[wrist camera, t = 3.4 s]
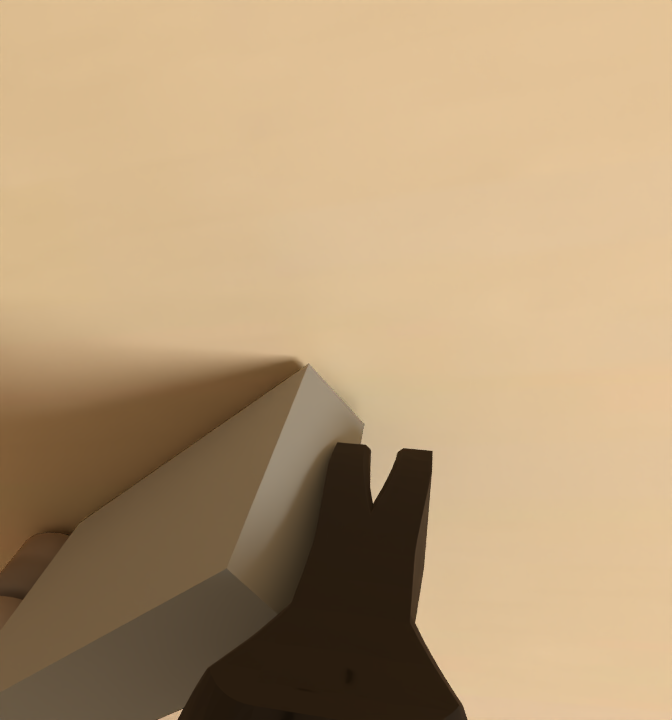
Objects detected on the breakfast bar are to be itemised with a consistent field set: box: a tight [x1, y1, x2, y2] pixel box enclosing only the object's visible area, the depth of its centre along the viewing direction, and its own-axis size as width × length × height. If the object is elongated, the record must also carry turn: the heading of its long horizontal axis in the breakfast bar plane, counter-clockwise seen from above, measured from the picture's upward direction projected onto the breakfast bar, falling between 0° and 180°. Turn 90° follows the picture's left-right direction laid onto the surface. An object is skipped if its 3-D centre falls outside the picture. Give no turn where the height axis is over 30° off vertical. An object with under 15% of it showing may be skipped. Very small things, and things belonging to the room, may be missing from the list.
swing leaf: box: [0, 364, 364, 720], centre depth 14 cm, size 12×3×6 cm, turn 130°
